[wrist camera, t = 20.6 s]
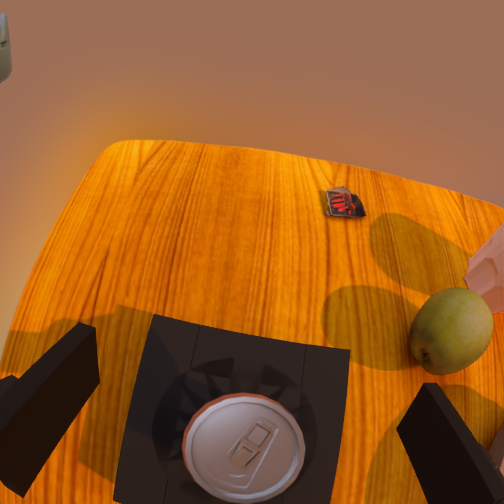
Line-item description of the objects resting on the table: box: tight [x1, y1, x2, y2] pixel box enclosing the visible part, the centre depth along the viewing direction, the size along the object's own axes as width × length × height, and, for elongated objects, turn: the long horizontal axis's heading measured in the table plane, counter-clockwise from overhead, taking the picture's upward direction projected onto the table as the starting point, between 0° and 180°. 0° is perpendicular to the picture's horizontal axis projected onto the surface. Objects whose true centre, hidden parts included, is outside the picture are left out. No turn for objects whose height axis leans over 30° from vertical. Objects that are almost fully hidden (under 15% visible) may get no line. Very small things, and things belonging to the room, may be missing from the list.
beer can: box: [182, 393, 305, 504], centre depth 15 cm, size 5×5×12 cm
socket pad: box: [113, 314, 350, 504], centre depth 19 cm, size 15×15×4 cm
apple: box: [409, 288, 494, 375], centre depth 22 cm, size 8×9×8 cm
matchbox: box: [326, 186, 366, 218], centre depth 33 cm, size 5×5×1 cm
